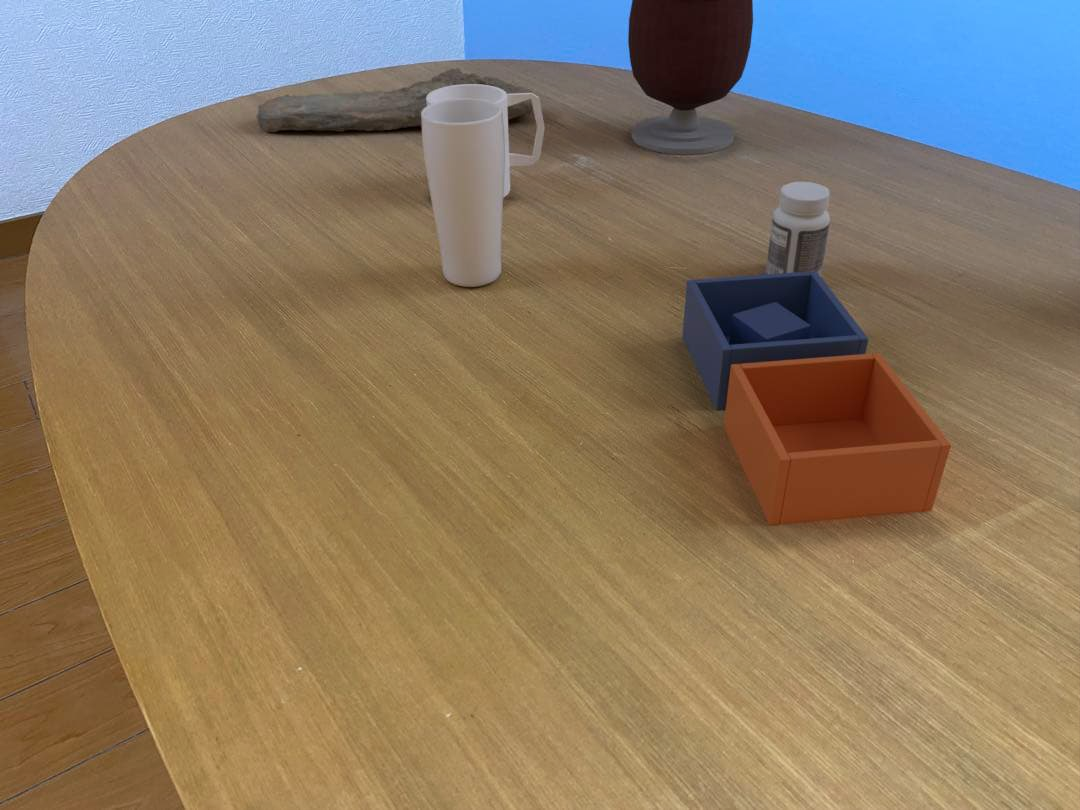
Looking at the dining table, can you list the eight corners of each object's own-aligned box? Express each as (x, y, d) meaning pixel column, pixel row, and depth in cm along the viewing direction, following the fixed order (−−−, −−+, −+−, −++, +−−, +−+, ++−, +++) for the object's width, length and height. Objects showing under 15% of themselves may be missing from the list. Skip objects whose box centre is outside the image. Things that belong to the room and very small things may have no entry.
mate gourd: (666, 165, 106) (678, -27, 94) (603, 129, 116) (607, -48, 104) (775, 141, 112) (799, -43, 100) (706, 109, 122) (720, -61, 110)
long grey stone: (269, 124, 124) (258, 155, 116) (258, 84, 120) (246, 113, 113) (532, 97, 125) (539, 126, 117) (529, 57, 121) (536, 84, 114)
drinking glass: (424, 289, 83) (407, 121, 74) (448, 256, 88) (435, 95, 79) (498, 297, 81) (489, 126, 73) (518, 262, 87) (512, 99, 78)
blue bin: (805, 333, 76) (816, 270, 72) (854, 405, 67) (869, 338, 64) (681, 342, 75) (686, 279, 71) (715, 416, 66) (723, 349, 63)
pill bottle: (822, 272, 84) (837, 183, 79) (816, 296, 80) (832, 204, 76) (768, 265, 85) (780, 176, 81) (760, 288, 82) (772, 197, 77)
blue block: (769, 346, 73) (775, 301, 70) (803, 371, 70) (811, 325, 68) (726, 359, 71) (732, 313, 69) (759, 385, 68) (766, 338, 66)
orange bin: (864, 420, 66) (879, 352, 63) (930, 517, 57) (951, 444, 54) (722, 432, 65) (730, 363, 62) (768, 532, 57) (780, 459, 53)
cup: (548, 201, 98) (547, 105, 92) (433, 206, 98) (425, 110, 92) (542, 172, 105) (541, 81, 99) (434, 177, 104) (427, 85, 98)
